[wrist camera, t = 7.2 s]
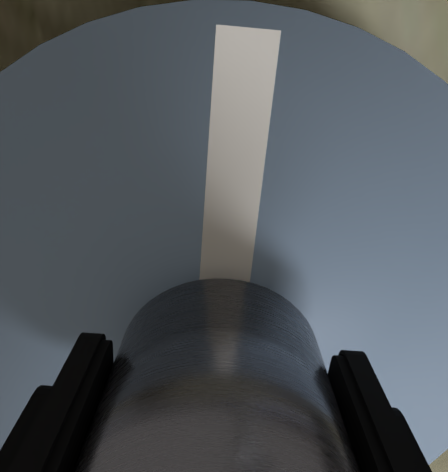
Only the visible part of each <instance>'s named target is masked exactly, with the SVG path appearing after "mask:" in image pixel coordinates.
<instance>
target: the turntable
mask: <svg viewBox="0 0 448 472" xmlns="http://www.w3.org/2000/svg"><path fill="white" fill-rule="evenodd" d="M213 278H221V279H235V280H242V281H246V282H250V283H254V284H258V285H260V286H263V287H265V288H268V289H270V290H272V291H274V292H276V293H278V294H279V295H281V296H283V297H284V298H285V299H287V300H288V301H290V302H291V303H292V304H293V305H294V306H295V307H296V308H297V309H298V310H299V311H300V312H301V313H302V314H303V315H304V317H305V318H306V319H307V321H308V322H309V324H310V326H311V328H312V329H313V332H314V335H315V337H316V340H317V343H318V346H319V349H320V352H321V355H322V358H323V361H324V364H325V367H326V370H327V373H328V370H329V366H330V362H331V358H332V356H333V355H338V354H339V352H340V351H341V350H351V351H363V352H365V354H366V355H367V357H368V359H369V362H370V364H371V366H372V368H373V370H374V372H375V374H376V376H377V378H378V380H379V382H380V384H381V386H382V389H383V391H384V393H385V395H386V397H387V399H388V401H389V403H390V405H391V407H394V408H398V409H399V410H400V411H401V412H402V414H403V416H404V417H405V419H406V421H407V423H408V425H409V427H410V429H411V431H412V433H413V435H414V437H415V439H416V441H417V443H418V445H419V447H420V449H421V451H422V453H423V455H424V457H425V459H426V461H427V463H428V465H429V464H430V463H432V462H433V461H434V460H435V459H436V458H438V457H439V456H440V455H441V454H442V453H443V452H445V451H446V450H447V449H448V84H447V83H446V82H445V81H443V80H442V79H441V78H439V77H438V76H437V75H435V74H434V73H433V72H431V71H430V70H429V69H427V68H426V67H425V66H423V65H422V64H421V63H419V62H418V61H416V60H415V59H414V58H412V57H411V56H410V55H408V54H407V53H406V52H404V51H402V50H401V49H399V48H397V47H395V46H393V45H391V44H389V43H387V42H385V41H383V40H381V39H379V38H377V37H375V36H374V35H372V34H370V33H368V32H366V31H364V30H362V29H360V28H358V27H355V26H352V25H349V24H346V23H343V22H340V21H337V20H334V19H331V18H328V17H325V16H322V15H319V14H316V13H313V12H310V11H307V10H303V9H297V8H291V7H285V6H279V5H274V4H268V3H262V2H256V1H243V0H188V1H181V2H173V3H166V4H158V5H151V6H143V7H138V8H134V9H131V10H128V11H124V12H121V13H117V14H114V15H111V16H107V17H104V18H100V19H97V20H93V21H90V22H87V23H85V24H83V25H81V26H78V27H76V28H74V29H72V30H70V31H68V32H66V33H64V34H61V35H59V36H57V37H55V38H53V39H51V40H49V41H47V42H45V43H42V44H40V45H39V46H37V47H36V48H34V49H33V50H31V51H30V52H28V53H27V54H26V55H24V56H23V57H21V58H20V59H18V60H17V61H15V62H14V63H12V64H11V65H10V66H8V67H7V68H5V69H4V70H2V71H1V72H0V450H1V448H2V446H3V444H4V443H5V441H6V439H7V437H8V436H9V434H10V432H11V430H12V429H13V427H14V425H15V424H16V422H17V420H18V418H19V417H20V415H21V413H22V411H23V410H24V408H25V406H26V405H27V403H28V401H29V399H30V398H31V396H32V394H33V393H34V391H35V390H36V388H37V387H39V386H40V385H48V386H53V384H54V382H55V380H56V378H57V376H58V374H59V373H60V371H61V369H62V367H63V365H64V363H65V361H66V359H67V358H68V356H69V354H70V352H71V350H72V348H73V346H74V344H75V342H76V341H77V339H78V337H79V335H80V334H81V333H82V332H85V333H100V334H105V336H106V340H112V342H113V358H114V361H115V358H116V355H117V353H118V350H119V347H120V345H121V342H122V339H123V337H124V334H125V332H126V329H127V327H128V325H129V324H130V322H131V320H132V319H133V317H134V316H135V315H136V314H137V312H138V311H139V310H140V309H141V308H142V307H143V306H144V305H145V304H146V303H148V302H149V301H150V300H151V299H153V298H154V297H156V296H157V295H159V294H160V293H162V292H164V291H166V290H168V289H170V288H172V287H175V286H178V285H181V284H184V283H187V282H192V281H196V280H202V279H213Z"/></svg>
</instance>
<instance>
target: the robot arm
mask: <svg viewBox="0 0 448 472" xmlns="http://www.w3.org/2000/svg"><path fill="white" fill-rule="evenodd" d="M113 364H114V358H113V342H112V340H106V336H105V334H100V333H85V332H82V333H81V334H80V335H79V337H78V339H77V341H76V342H75V344H74V346H73V348H72V350H71V352H70V354H69V356H68V358H67V359H66V361H65V363H64V365H63V367H62V369H61V371H60V373H59V374H58V376H57V378H56V380H55V382H54V384H53V386H48V385H40V386H39V387H37V388H36V390H35V391H34V393H33V394H32V396H31V398H30V399H29V401H28V403H27V405H26V406H25V408H24V410H23V411H22V413H21V415H20V417H19V418H18V420H17V422H16V424H15V425H14V427H13V429H12V430H11V432H10V434H9V436H8V437H7V439H6V441H5V443H4V444H3V446H2V448H1V450H0V472H74V469H75V466H76V464H77V461H78V458H79V456H80V453H81V450H82V447H83V445H84V442H85V439H86V437H87V434H88V431H89V428H90V426H91V423H92V420H93V418H94V415H95V412H96V410H97V407H98V404H99V401H100V399H101V396H102V393H103V391H104V388H105V385H106V382H107V380H108V377H109V374H110V372H111V369H112V366H113ZM328 376H329V379H330V382H331V385H332V389H333V392H334V395H335V398H336V401H337V404H338V407H339V410H340V413H341V416H342V419H343V422H344V425H345V428H346V431H347V434H348V437H349V440H350V443H351V446H352V449H353V452H354V455H355V459H356V462H357V465H358V468H359V471H360V472H432V471H431V469H430V467H429V465H428V463H427V461H426V459H425V457H424V455H423V453H422V451H421V449H420V447H419V445H418V443H417V441H416V439H415V437H414V435H413V433H412V431H411V429H410V427H409V425H408V423H407V421H406V419H405V417H404V416H403V414H402V412H401V411H400V410H399V409H398V408H394V407H391V405H390V403H389V401H388V399H387V397H386V395H385V393H384V391H383V389H382V386H381V384H380V382H379V380H378V378H377V376H376V374H375V372H374V370H373V368H372V366H371V364H370V362H369V359H368V357H367V355H366V354H365V352H363V351H351V350H341V351H340V352H339V354H338V355H333V356H332V358H331V362H330V366H329V370H328Z"/></svg>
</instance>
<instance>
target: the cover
mask: <svg viewBox="0 0 448 472" xmlns="http://www.w3.org/2000/svg"><path fill="white" fill-rule="evenodd" d="M74 472H360V471H359V468H358V465H357V462H356V459H355V455H354V452H353V449H352V446H351V443H350V440H349V437H348V434H347V431H346V428H345V425H344V422H343V419H342V416H341V413H340V410H339V407H338V404H337V401H336V398H335V395H334V392H333V389H332V385H331V382H330V379H329V376H328V373H327V370H326V367H325V364H324V361H323V358H322V355H321V352H320V349H319V346H318V343H317V340H316V337H315V335H314V332H313V329H312V328H311V326H310V324H309V322H308V321H307V319H306V318H305V317H304V315H303V314H302V313H301V312H300V311H299V310H298V309H297V308H296V307H295V306H294V305H293V304H292V303H291V302H290V301H288V300H287V299H285V298H284V297H283V296H281V295H279V294H278V293H276V292H274V291H272V290H270V289H268V288H265V287H263V286H260V285H258V284H254V283H250V282H246V281H242V280H235V279H221V278H213V279H202V280H196V281H192V282H187V283H184V284H181V285H178V286H175V287H172V288H170V289H168V290H166V291H164V292H162V293H160V294H159V295H157V296H156V297H154V298H153V299H151V300H150V301H149V302H148V303H146V304H145V305H144V306H143V307H142V308H141V309H140V310H139V311H138V312H137V314H136V315H135V316H134V317H133V319H132V320H131V322H130V324H129V325H128V327H127V329H126V332H125V334H124V337H123V339H122V342H121V345H120V347H119V350H118V353H117V355H116V358H115V361H114V364H113V366H112V369H111V372H110V374H109V377H108V380H107V382H106V385H105V388H104V391H103V393H102V396H101V399H100V401H99V404H98V407H97V410H96V412H95V415H94V418H93V420H92V423H91V426H90V428H89V431H88V434H87V437H86V439H85V442H84V445H83V447H82V450H81V453H80V456H79V458H78V461H77V464H76V466H75V469H74Z"/></svg>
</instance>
